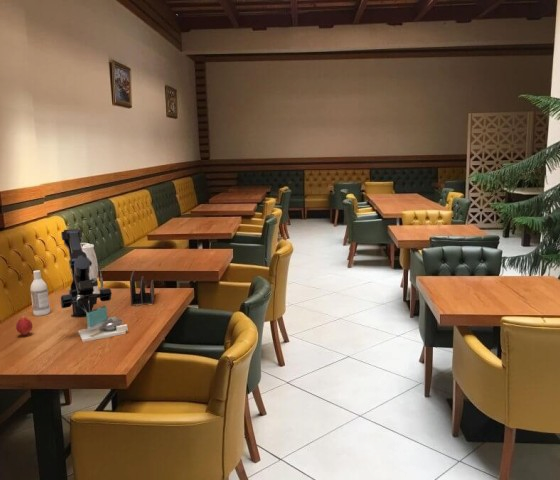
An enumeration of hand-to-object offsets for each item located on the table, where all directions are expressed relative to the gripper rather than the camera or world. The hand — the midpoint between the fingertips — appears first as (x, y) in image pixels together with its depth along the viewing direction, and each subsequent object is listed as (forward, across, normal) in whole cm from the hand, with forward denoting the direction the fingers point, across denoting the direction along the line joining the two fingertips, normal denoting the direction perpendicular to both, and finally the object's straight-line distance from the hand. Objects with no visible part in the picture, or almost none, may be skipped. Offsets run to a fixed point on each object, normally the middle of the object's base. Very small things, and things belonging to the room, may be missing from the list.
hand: (90, 316), depth 200 cm
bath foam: (-27, -15, +39) cm, 50 cm away
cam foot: (+4, +5, +6) cm, 8 cm away
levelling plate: (+4, +4, +7) cm, 10 cm away
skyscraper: (-39, +11, +52) cm, 66 cm away
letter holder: (-22, +30, +35) cm, 51 cm away
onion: (-7, -23, +19) cm, 30 cm away
